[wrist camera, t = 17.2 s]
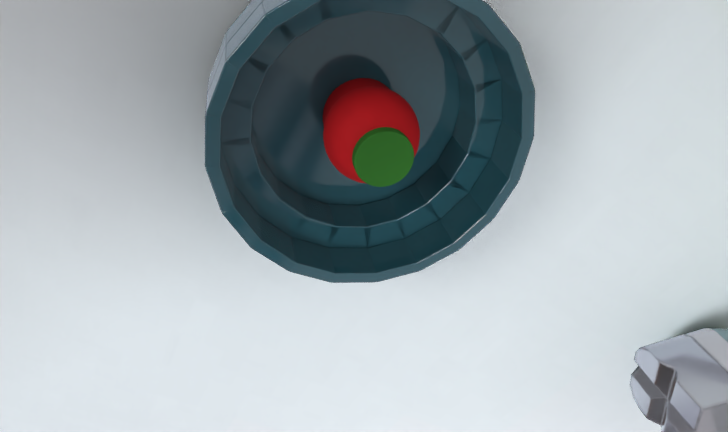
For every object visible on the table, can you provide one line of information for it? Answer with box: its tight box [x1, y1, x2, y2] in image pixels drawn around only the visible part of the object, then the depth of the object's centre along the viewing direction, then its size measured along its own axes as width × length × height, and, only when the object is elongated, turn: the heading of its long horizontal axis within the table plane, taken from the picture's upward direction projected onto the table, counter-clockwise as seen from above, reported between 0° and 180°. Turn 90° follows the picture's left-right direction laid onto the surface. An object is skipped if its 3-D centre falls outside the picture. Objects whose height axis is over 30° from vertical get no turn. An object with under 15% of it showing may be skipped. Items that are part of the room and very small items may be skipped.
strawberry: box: [323, 78, 420, 187], centre depth 25 cm, size 4×4×5 cm
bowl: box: [205, 0, 535, 283], centre depth 25 cm, size 14×14×5 cm
